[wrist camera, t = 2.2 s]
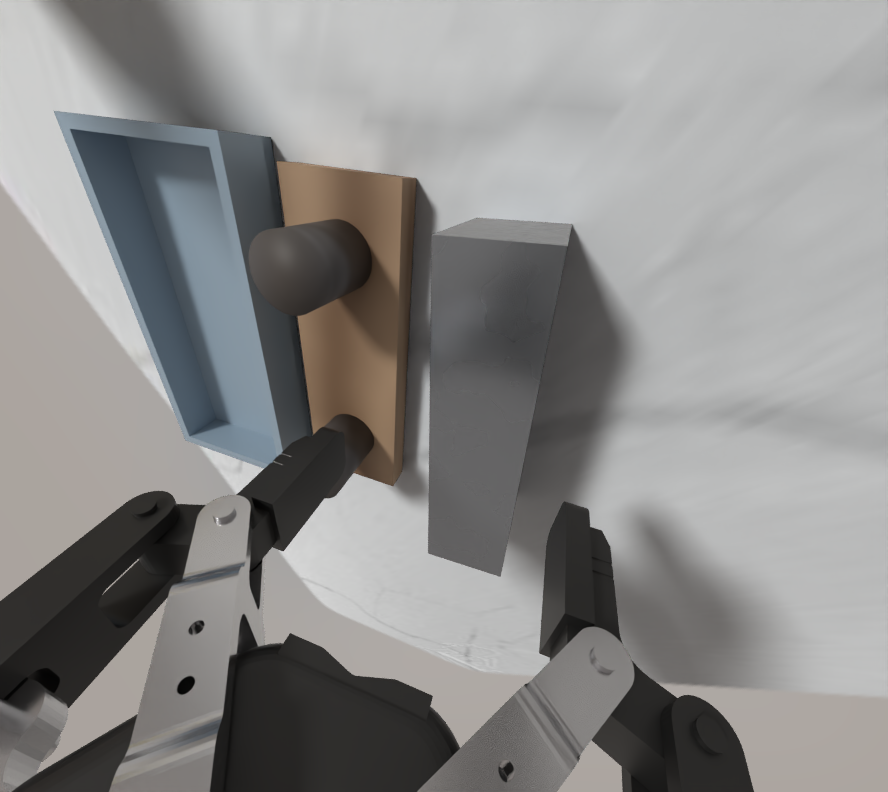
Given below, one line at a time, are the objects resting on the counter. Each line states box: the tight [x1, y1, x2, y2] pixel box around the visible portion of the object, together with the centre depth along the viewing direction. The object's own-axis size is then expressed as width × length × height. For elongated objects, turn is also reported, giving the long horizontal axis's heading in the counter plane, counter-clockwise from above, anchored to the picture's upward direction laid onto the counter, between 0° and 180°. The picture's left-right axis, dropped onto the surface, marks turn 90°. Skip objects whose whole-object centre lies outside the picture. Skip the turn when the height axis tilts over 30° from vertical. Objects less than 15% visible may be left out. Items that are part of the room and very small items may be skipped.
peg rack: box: [249, 161, 417, 498], centre depth 19 cm, size 6×18×6 cm, turn 174°
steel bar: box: [428, 218, 572, 577], centre depth 17 cm, size 4×16×6 cm, turn 178°
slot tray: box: [54, 111, 312, 469], centre depth 22 cm, size 9×20×3 cm, turn 174°
